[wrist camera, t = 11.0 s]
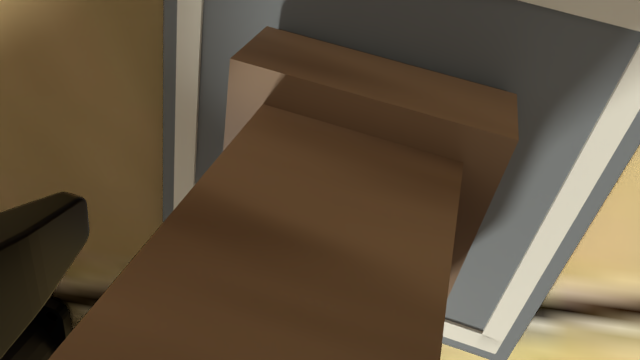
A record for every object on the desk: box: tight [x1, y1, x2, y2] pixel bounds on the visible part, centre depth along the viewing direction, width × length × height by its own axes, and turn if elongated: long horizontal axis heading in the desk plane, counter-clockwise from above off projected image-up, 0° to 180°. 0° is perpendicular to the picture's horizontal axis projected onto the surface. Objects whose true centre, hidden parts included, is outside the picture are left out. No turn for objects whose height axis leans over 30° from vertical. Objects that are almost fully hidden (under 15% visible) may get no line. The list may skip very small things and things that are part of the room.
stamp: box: [48, 26, 519, 360], centre depth 10 cm, size 6×6×9 cm
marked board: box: [163, 0, 640, 360], centre depth 14 cm, size 11×11×1 cm
